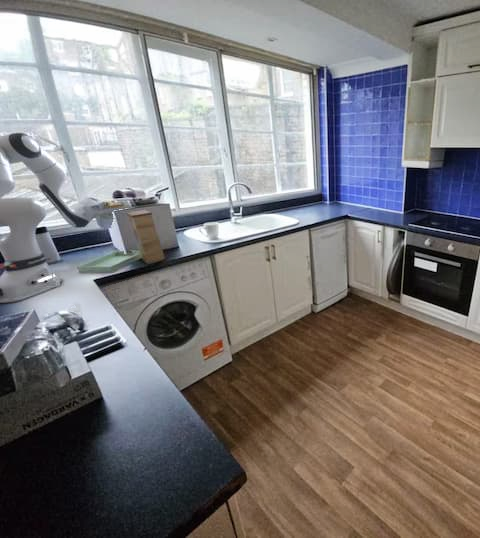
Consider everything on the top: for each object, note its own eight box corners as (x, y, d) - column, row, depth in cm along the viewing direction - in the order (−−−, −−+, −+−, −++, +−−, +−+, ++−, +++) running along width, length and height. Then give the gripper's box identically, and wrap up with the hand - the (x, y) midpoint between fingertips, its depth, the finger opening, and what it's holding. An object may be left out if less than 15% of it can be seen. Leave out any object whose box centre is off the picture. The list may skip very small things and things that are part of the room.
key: (123, 206, 146) (122, 203, 146) (111, 208, 143) (110, 205, 142) (113, 202, 157) (113, 200, 157) (102, 204, 154) (101, 201, 153)
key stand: (166, 259, 160) (151, 212, 150) (148, 264, 154) (131, 215, 144) (158, 255, 167) (144, 210, 156) (141, 260, 160) (125, 213, 150)
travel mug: (52, 264, 157) (34, 228, 149) (42, 264, 159) (25, 228, 151) (65, 260, 163) (49, 225, 155) (55, 259, 164) (39, 224, 156)
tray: (112, 272, 146) (110, 266, 144) (79, 272, 147) (76, 266, 145) (146, 255, 167) (145, 250, 166) (117, 255, 168) (115, 250, 167)
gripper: (80, 211, 154) (79, 199, 145) (126, 204, 169) (128, 194, 159) (85, 222, 155) (85, 211, 145) (131, 214, 169) (134, 204, 159)
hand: (108, 202), depth 152 cm, fingers closed on key, 3 cm apart
